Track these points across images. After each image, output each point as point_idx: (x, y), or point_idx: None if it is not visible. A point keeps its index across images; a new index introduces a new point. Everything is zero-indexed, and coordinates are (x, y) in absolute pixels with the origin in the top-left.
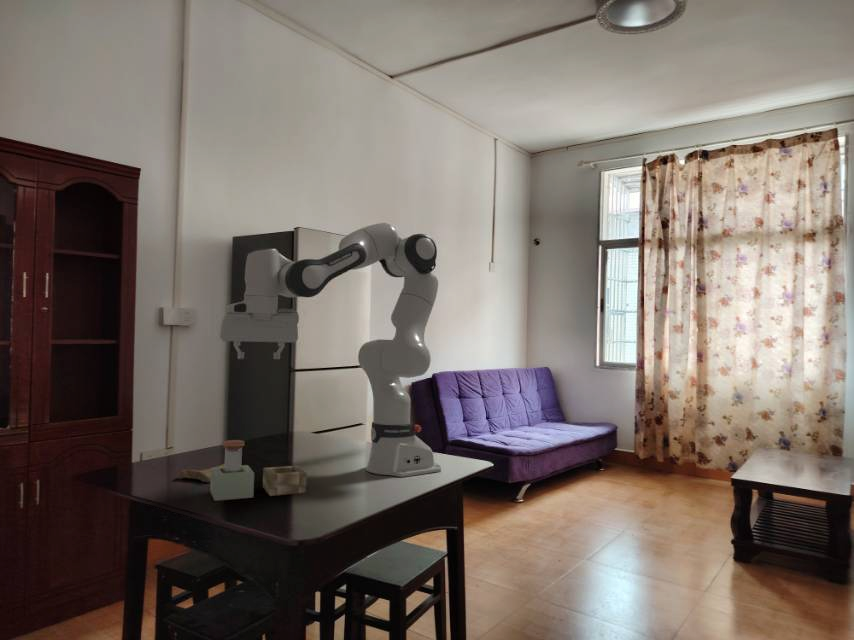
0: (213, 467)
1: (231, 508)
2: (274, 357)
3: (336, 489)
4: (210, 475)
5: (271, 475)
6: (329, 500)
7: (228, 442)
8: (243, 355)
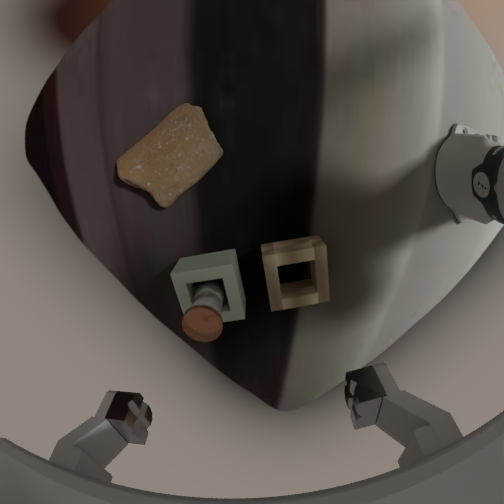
0: (174, 273)
1: (219, 338)
2: (346, 400)
3: (367, 274)
4: (168, 190)
5: (272, 310)
6: (342, 323)
7: (192, 331)
8: (144, 428)
